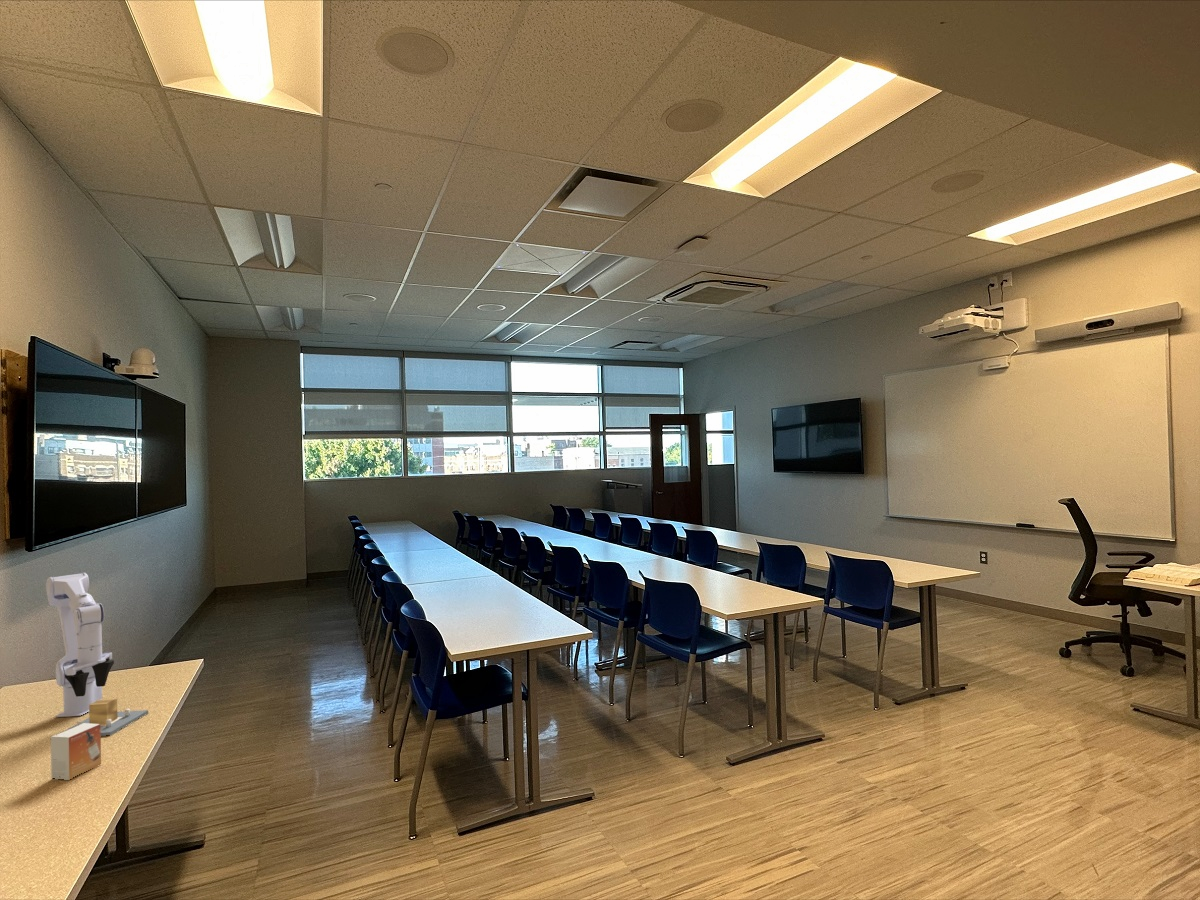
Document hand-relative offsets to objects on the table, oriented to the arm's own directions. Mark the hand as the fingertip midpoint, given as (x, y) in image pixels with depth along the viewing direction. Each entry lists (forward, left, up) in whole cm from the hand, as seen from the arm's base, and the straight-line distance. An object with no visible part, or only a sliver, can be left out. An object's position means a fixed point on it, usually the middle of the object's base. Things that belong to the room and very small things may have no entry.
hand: (90, 690), depth 180 cm
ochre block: (+3, +6, -8) cm, 11 cm away
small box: (+31, +21, -10) cm, 39 cm away
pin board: (+3, +6, -9) cm, 12 cm away
